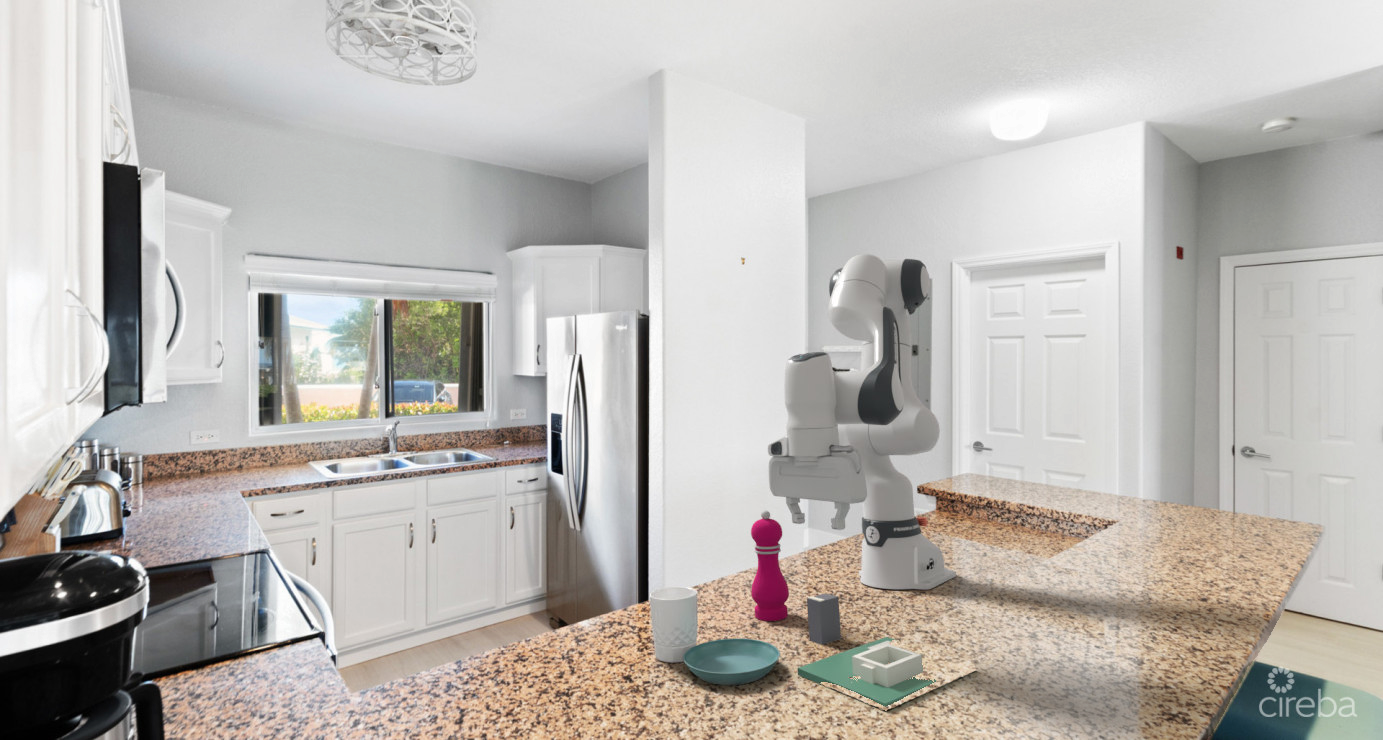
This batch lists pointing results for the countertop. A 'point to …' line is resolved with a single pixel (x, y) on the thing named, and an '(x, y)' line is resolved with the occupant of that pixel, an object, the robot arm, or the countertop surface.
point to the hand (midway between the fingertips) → (817, 526)
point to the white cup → (674, 622)
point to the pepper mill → (768, 571)
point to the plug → (823, 618)
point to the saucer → (731, 660)
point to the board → (871, 671)
